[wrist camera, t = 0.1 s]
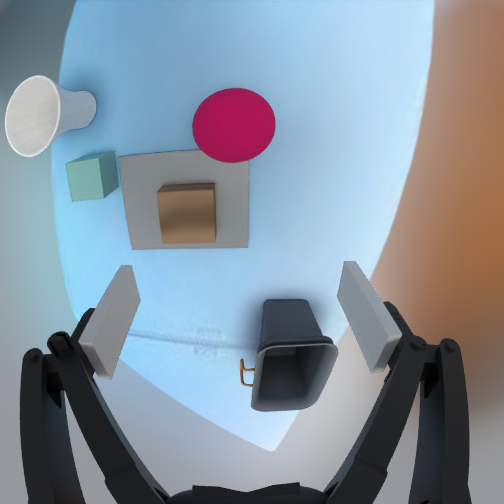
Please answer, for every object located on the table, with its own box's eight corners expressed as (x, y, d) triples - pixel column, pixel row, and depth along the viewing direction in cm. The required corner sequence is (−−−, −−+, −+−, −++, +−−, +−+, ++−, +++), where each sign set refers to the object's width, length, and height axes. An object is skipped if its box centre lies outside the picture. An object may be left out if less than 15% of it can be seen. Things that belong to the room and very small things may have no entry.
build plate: (120, 156, 38) (118, 157, 37) (248, 148, 39) (248, 149, 38) (133, 247, 46) (132, 249, 45) (247, 244, 47) (248, 247, 46)
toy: (219, 158, 40) (210, 183, 27) (197, 109, 36) (175, 107, 23) (272, 137, 39) (291, 151, 26) (251, 87, 35) (260, 73, 22)
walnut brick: (163, 185, 40) (156, 192, 37) (214, 182, 41) (212, 190, 37) (168, 232, 44) (162, 243, 40) (216, 231, 44) (215, 242, 41)
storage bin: (303, 359, 63) (315, 409, 50) (238, 361, 61) (239, 413, 49) (321, 288, 52) (343, 342, 40) (240, 288, 51) (242, 346, 39)
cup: (49, 130, 34) (-2, 144, 22) (70, 72, 30) (19, 69, 18) (93, 149, 37) (46, 168, 25) (118, 88, 33) (72, 84, 21)
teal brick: (84, 155, 38) (65, 163, 32) (115, 151, 38) (98, 157, 33) (88, 189, 40) (71, 201, 35) (119, 186, 41) (104, 198, 35)
